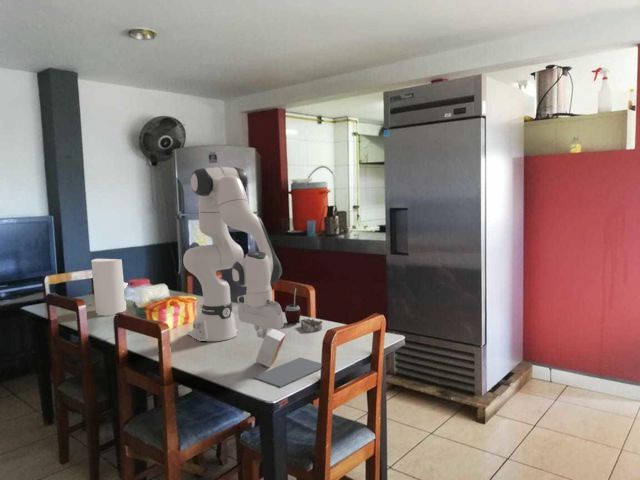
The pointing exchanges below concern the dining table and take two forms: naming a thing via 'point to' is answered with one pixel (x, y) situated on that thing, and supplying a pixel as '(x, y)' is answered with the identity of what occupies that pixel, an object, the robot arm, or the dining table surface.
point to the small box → (270, 347)
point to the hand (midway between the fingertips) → (261, 337)
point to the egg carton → (308, 325)
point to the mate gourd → (293, 313)
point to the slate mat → (289, 372)
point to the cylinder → (108, 286)
